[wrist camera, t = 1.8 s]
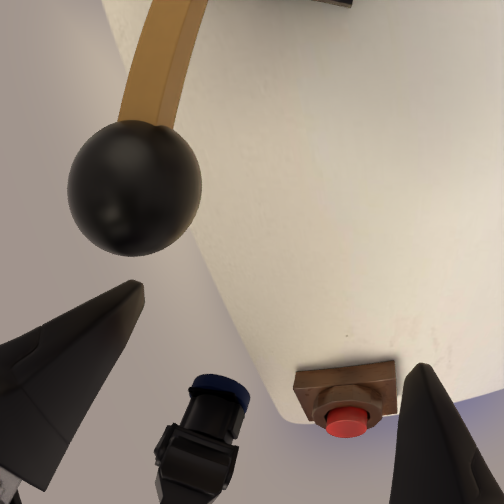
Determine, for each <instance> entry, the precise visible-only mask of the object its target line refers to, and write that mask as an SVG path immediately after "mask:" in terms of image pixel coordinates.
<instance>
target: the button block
mask: <svg viewBox="0 0 504 504" xmlns="http://www.w3.org/2000/svg"><path fill="white" fill-rule="evenodd" d="M293 390H294V392H295V394H296V396H297V398H298V400H299V402H300V404H301V406H302V408H303V410H304V412H305V414H306V416H307V418H308V420H309V421H315V424H316V425H319V426H320V427H322V428H324V429H326V424H327V416H328V412H329V411H330V410H332V409H335V408H337V407H349V406H351V407H357V408H363V409H364V410H366V411H367V429H369V428H372V427H374V426H375V425H376V424H377V423H378V422H379V421H380V420H381V419H382V415H390V414H397V389H396V373H395V361H394V360H393V361H387V362H380V363H373V364H366V365H358V366H350V367H342V368H333V369H323V370H312V371H300V372H296V375H295V380H294V385H293Z"/></svg>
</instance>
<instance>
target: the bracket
mask: <svg viewBox="0 0 504 504" xmlns="http://www.w3.org/2000/svg"><path fill="white" fill-rule="evenodd" d="M313 1H318V2H324V3H329V4H333V5H338V6H343V7H347V8H351V6H352V2H353V0H313Z"/></svg>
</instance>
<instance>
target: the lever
mask: <svg viewBox="0 0 504 504" xmlns="http://www.w3.org/2000/svg"><path fill="white" fill-rule="evenodd" d="M207 3H208V0H153V1H152V4H151V7H150V9H149V12H148V15H147V18H146V21H145V23H144V26H143V29H142V32H141V35H140V38H139V42H138V45H137V48H136V51H135V55H134V58H133V61H132V65H131V68H130V72H129V76H128V79H127V83H126V87H125V91H124V95H123V99H122V103H121V108H120V112H119V116H118V121H117V122H116V123H113V124H110V125H108V126H106V127H104V128H103V129H101V130H99V131H98V132H97V133H95V134H94V135H93V136H92V137H91V138H89V139H88V140H87V142H86V143H85V144H84V145H83V146H82V148H81V149H80V151H79V152H78V154H77V155H76V157H75V159H74V161H73V164H72V166H71V170H70V173H69V178H68V187H67V194H68V203H69V207H70V210H71V213H72V217H73V219H74V221H75V223H76V224H77V226H78V228H79V229H80V231H81V232H82V233H83V234H84V235H85V236H86V237H87V238H88V239H89V240H90V241H91V242H92V243H93V244H95V245H96V246H97V247H99V248H101V249H103V250H105V251H107V252H110V253H112V254H116V255H120V256H128V257H135V256H145V255H149V254H152V253H155V252H158V251H160V250H163V249H164V248H166V247H168V246H169V245H171V244H172V243H174V242H175V241H176V240H177V239H179V237H181V235H182V234H183V233H184V232H185V231H186V230H187V228H188V227H189V225H190V224H191V223H192V221H193V219H194V217H195V215H196V213H197V210H198V208H199V204H200V200H201V193H202V178H201V171H200V167H199V164H198V161H197V158H196V156H195V154H194V152H193V150H192V149H191V147H190V146H189V145H188V143H187V142H186V141H185V140H184V139H183V138H182V137H181V136H180V135H179V134H178V133H177V132H175V131H174V130H173V127H174V122H175V118H176V113H177V109H178V105H179V101H180V97H181V93H182V89H183V85H184V81H185V77H186V73H187V69H188V66H189V62H190V58H191V55H192V51H193V48H194V44H195V41H196V37H197V34H198V31H199V28H200V24H201V21H202V18H203V15H204V12H205V9H206V6H207Z"/></svg>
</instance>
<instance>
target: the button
mask: <svg viewBox="0 0 504 504" xmlns="http://www.w3.org/2000/svg"><path fill="white" fill-rule="evenodd" d="M366 430H367V411H366V410H364V409H363V408H357V407H351V406H349V407H337V408H335V409H332V410H330V411H329V412H328V416H327V424H326V431H327V432H328V433H329V434H330V435H332V436H335V437H340V438H350V437H357V436H360V435H362V434H363V433H365V432H366Z"/></svg>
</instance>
